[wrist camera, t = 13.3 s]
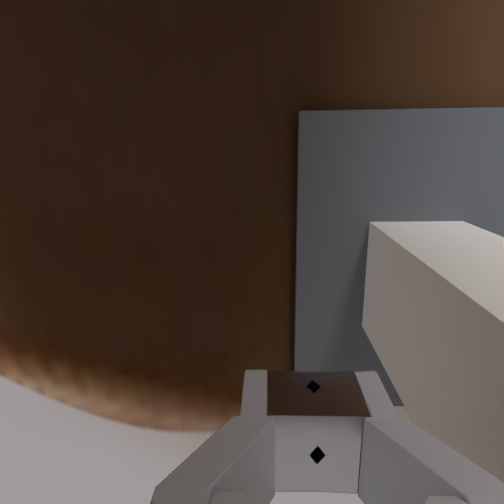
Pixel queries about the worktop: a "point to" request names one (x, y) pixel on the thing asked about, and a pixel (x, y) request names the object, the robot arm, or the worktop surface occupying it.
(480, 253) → the block
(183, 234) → the worktop surface
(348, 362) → the mat
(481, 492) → the robot arm
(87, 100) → the worktop surface
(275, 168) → the worktop surface
